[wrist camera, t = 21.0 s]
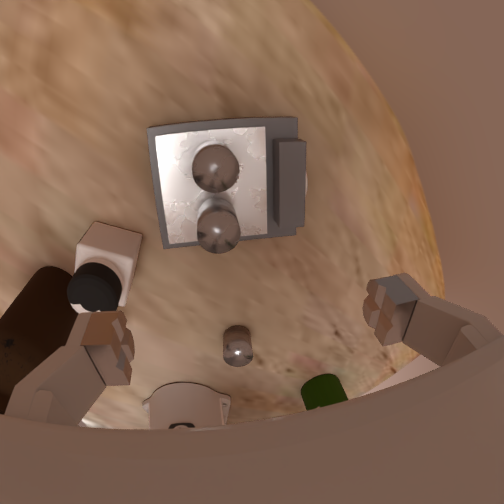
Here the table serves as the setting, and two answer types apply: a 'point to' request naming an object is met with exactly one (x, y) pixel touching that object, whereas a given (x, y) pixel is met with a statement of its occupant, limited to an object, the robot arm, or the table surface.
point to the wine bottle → (322, 392)
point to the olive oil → (34, 328)
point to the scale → (277, 172)
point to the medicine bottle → (103, 268)
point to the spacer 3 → (237, 346)
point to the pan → (192, 196)
